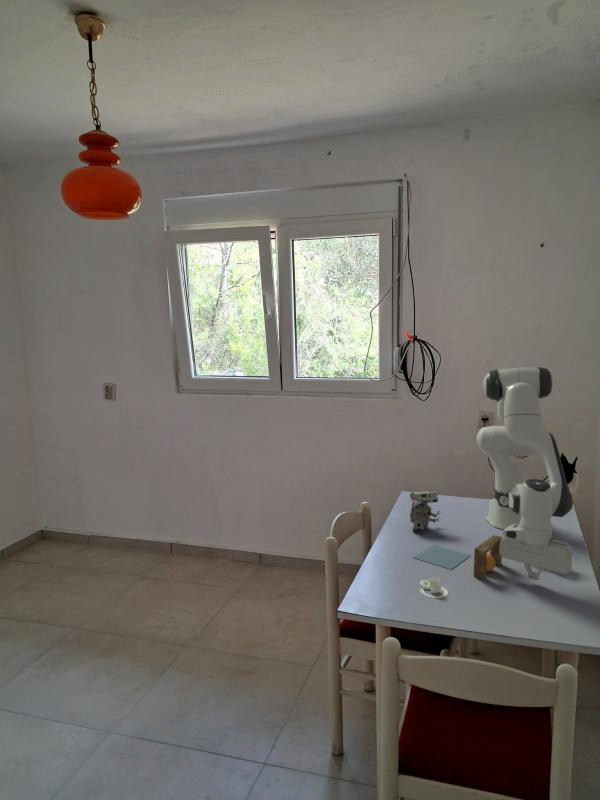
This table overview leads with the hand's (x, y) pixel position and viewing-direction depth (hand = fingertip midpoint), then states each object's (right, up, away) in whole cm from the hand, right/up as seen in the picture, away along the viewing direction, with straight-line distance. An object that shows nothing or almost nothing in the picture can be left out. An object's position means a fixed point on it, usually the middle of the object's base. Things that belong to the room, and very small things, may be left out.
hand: (533, 578), depth 162 cm
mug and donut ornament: (-29, -3, -1) cm, 29 cm away
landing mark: (-22, +1, +20) cm, 30 cm away
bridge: (-10, -1, +9) cm, 14 cm away
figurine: (-22, +4, +45) cm, 51 cm away
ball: (-11, +2, +9) cm, 14 cm away
